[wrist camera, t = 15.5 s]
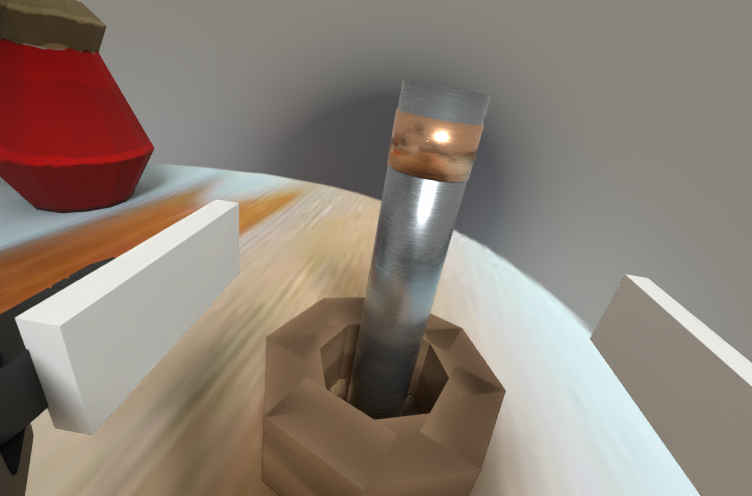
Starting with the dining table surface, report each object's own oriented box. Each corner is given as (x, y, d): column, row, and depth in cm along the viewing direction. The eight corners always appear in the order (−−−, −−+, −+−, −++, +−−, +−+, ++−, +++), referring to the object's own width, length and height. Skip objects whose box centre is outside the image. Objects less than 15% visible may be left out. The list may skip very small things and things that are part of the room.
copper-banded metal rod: (338, 400, 21) (390, 78, 14) (389, 395, 22) (465, 91, 15) (348, 452, 19) (420, 82, 11) (406, 443, 19) (510, 98, 12)
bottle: (47, 236, 32) (-26, -28, 24) (-46, 200, 36) (-141, -44, 27) (184, 196, 46) (169, 19, 37) (108, 173, 49) (78, 5, 41)
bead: (266, 352, 24) (267, 298, 22) (426, 343, 27) (440, 296, 25) (259, 573, 14) (260, 508, 12) (517, 514, 17) (551, 456, 15)
